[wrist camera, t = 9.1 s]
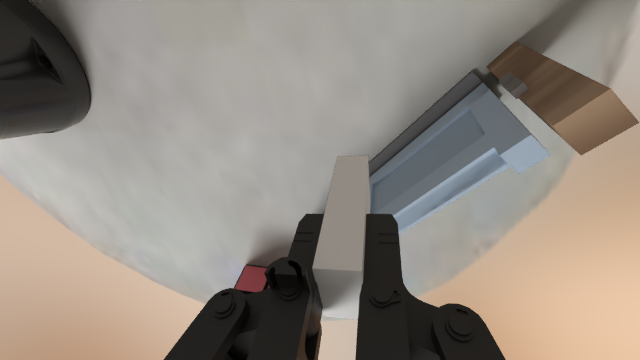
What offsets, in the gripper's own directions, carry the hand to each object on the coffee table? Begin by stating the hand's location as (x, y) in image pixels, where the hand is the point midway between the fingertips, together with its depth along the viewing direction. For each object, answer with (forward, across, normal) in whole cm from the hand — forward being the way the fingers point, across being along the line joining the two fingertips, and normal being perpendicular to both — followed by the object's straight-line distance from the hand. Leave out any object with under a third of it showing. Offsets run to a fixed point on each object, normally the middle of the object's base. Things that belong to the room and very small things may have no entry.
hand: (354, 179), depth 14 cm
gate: (+13, +5, -6) cm, 15 cm away
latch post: (+14, +12, +1) cm, 18 cm away
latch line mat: (+14, +5, -6) cm, 16 cm away
